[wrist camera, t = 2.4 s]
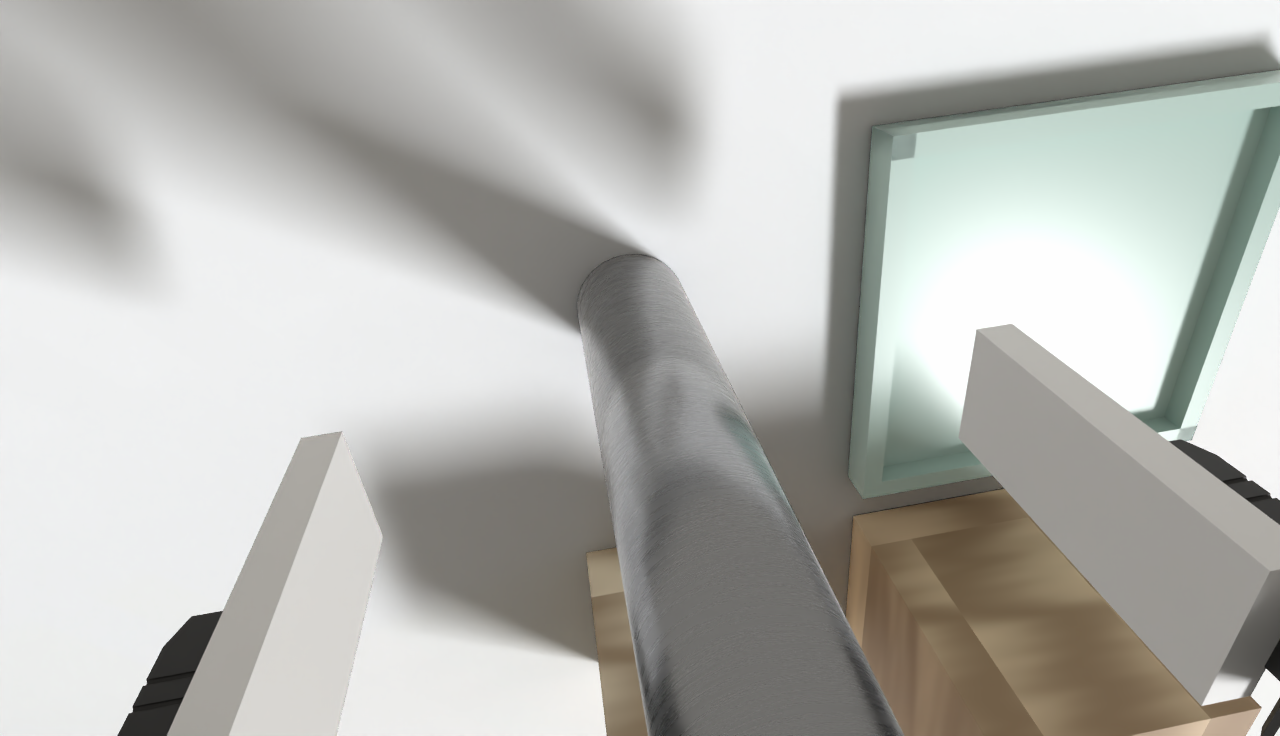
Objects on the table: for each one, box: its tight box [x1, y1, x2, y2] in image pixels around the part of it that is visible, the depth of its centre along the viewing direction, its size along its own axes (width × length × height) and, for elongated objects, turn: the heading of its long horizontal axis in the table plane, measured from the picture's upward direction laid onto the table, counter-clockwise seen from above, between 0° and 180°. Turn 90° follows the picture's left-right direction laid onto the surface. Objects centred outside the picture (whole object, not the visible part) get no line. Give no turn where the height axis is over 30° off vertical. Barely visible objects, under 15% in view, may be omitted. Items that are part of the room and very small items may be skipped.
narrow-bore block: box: [586, 547, 648, 736], centre depth 23 cm, size 6×6×8 cm
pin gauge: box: [577, 254, 904, 736], centre depth 13 cm, size 3×3×15 cm
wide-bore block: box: [846, 489, 1261, 736], centre depth 23 cm, size 7×7×9 cm
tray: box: [848, 70, 1280, 499], centre depth 21 cm, size 12×12×1 cm
